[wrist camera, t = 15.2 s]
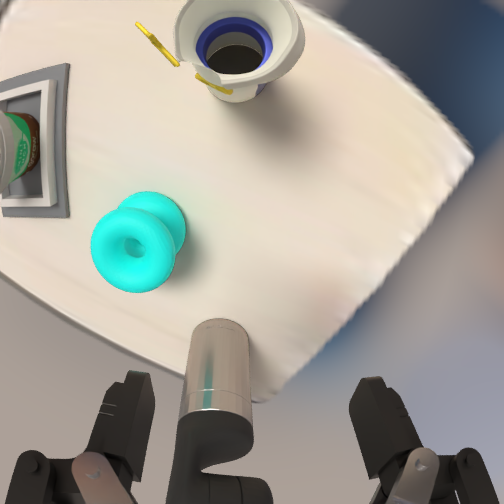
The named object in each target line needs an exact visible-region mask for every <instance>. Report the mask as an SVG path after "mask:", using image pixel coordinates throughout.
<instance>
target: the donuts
mask: <svg viewBox="0 0 504 504" xmlns="http://www.w3.org/2000/svg"><path fill="white" fill-rule="evenodd" d="M185 234H186V227H185V221H184V218H183V215H182V213H181V211H180V210H179V208H178V207H177V205H176V204H175V203H174V202H173V201H172V200H170V199H169V198H168V197H166V196H164V195H162V194H159V193H156V192H149V191H145V192H138V193H135V194H133V195H131V196H129V197H128V198H126V199H125V200H124V201H123V202H122V203H121V204H120V205H119V207H118V208H117V209H116V210H113V211H111V212H109V213H108V214H106V215H105V216H104V217H103V218H102V219H101V220H100V221H99V222H98V223H97V225H96V227H95V229H94V231H93V234H92V237H91V254H92V258H93V262H94V264H95V266H96V268H97V270H98V271H99V273H100V274H101V275H102V277H103V278H104V279H105V280H106V281H108V282H109V283H110V284H111V285H113V286H115V287H116V288H118V289H121V290H123V291H126V292H131V293H143V292H148V291H151V290H154V289H156V288H158V287H159V286H160V285H162V284H163V283H164V282H165V281H166V280H167V279H168V277H169V276H170V274H171V272H172V270H173V267H174V264H175V255H176V254H177V253H178V252H179V250H180V249H181V247H182V245H183V242H184V239H185Z"/></svg>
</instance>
